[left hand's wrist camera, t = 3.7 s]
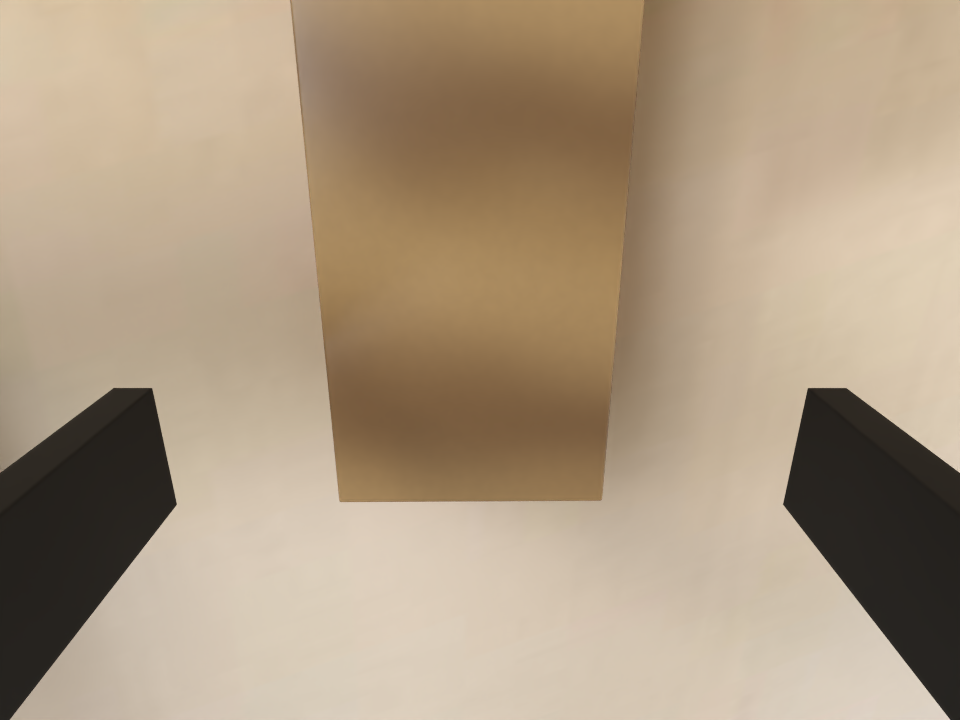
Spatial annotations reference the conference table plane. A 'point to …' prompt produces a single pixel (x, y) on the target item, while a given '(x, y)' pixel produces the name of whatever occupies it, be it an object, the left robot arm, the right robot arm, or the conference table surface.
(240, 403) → the conference table surface
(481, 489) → the wide beam
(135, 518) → the left robot arm
